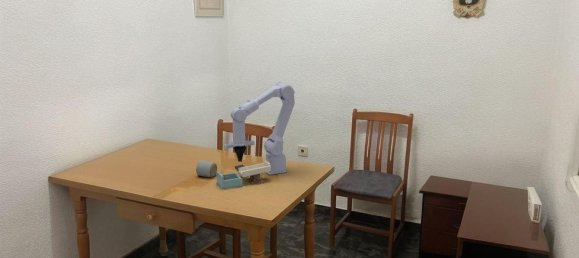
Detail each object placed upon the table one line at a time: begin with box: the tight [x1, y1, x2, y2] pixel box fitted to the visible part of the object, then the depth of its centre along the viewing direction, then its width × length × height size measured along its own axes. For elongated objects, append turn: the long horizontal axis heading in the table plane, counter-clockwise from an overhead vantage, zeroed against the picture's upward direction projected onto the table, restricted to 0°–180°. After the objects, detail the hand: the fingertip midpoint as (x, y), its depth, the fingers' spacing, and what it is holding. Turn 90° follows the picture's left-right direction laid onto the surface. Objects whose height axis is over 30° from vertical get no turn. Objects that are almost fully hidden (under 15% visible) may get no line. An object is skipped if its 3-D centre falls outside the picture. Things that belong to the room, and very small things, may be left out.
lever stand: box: [245, 173, 265, 185], centre depth 233 cm, size 6×8×4 cm
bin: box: [216, 170, 244, 190], centre depth 227 cm, size 10×9×6 cm
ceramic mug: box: [195, 159, 218, 178], centre depth 240 cm, size 11×8×8 cm
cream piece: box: [234, 160, 271, 178], centre depth 235 cm, size 14×14×4 cm
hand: (239, 161), depth 237 cm, fingers closed
